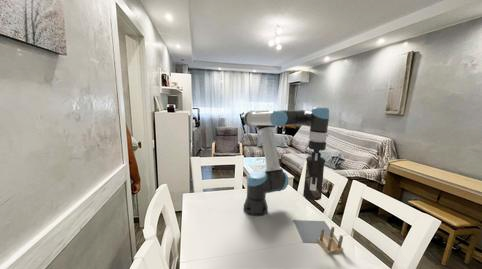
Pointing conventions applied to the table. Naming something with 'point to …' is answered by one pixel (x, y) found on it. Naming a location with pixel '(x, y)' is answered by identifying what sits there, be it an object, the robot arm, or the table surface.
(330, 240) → the stool
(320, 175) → the container
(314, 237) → the mat
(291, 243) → the table surface
